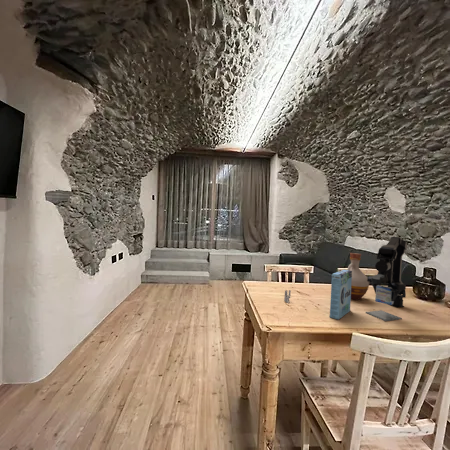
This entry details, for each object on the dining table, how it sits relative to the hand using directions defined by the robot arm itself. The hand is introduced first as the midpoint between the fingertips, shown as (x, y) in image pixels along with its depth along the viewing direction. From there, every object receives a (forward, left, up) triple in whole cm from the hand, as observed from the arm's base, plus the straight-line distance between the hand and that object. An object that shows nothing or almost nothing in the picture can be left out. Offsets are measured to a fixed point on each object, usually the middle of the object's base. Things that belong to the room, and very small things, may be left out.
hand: (384, 298), depth 142 cm
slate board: (0, 0, -10) cm, 10 cm away
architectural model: (-30, -35, -10) cm, 47 cm away
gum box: (-8, -22, -10) cm, 25 cm away
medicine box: (0, 0, -2) cm, 2 cm away
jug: (-30, +9, -10) cm, 33 cm away
